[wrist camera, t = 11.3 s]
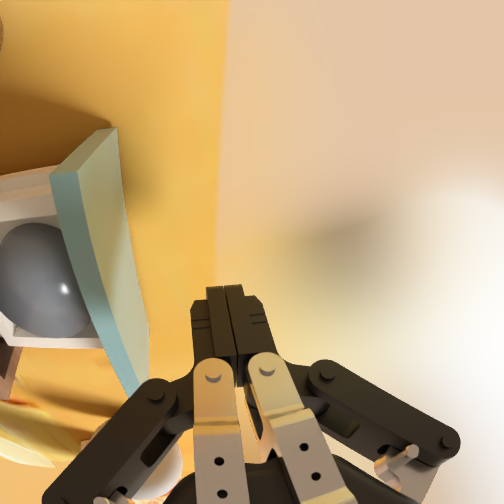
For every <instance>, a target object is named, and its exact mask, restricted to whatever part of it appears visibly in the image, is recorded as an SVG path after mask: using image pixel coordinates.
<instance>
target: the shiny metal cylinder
mask: <svg viewBox="0 0 504 504" xmlns="http://www.w3.org/2000/svg"><path fill="white" fill-rule="evenodd" d="M2 41H3V25H2V21H1V18H0V50H1V46H2Z"/></svg>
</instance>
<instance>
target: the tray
mask: <svg viewBox="0 0 504 504" xmlns="http://www.w3.org/2000/svg"><path fill="white" fill-rule="evenodd" d="M26 223H42V224H47V225H50V226H53V227H56V228H58V229H61V231H62V234H63V238H64V242H65V245H66V248H67V252H68V255H69V258H70V261H71V265H72V268H73V271H74V274H75V277H76V280H77V282H78V285H79V288H80V291H81V294H82V296H83V299H84V302H85V304H86V307H87V309H88V312H89V315H90V317H91V321H90V323H89V324H88V326H87V327H86V328H85V329H84V330H82V331H81V332H80V333H78V334H76V335H73V336H70V337H66V338H47V337H42V336H38V335H35V334H32V333H30V332H27V331H25V330H23V329H22V328H20V327H18V326H17V325H15V324H14V323H13V322H11V321H10V320H9V319H8V318H7V317H5V316H4V315H3V313H2V312H1V311H0V337H3V338H4V339H5V341H6V342H7V344H8V345H9V346H20V347H39V348H81V349H98V348H104V350H105V352H106V354H107V356H108V358H109V360H110V362H111V365H112V367H113V369H114V371H115V373H116V375H117V377H118V379H119V381H120V383H121V385H122V386H123V388H124V390H125V392H126V394H127V396H128V398H130V397H131V395H132V394H133V393H134V392H135V391H136V390H137V389H138V388H139V387H140V385H141V384H142V383H144V382H145V381H147V380H149V338H150V328H149V324H148V320H147V316H146V312H145V308H144V304H143V299H142V295H141V290H140V286H139V281H138V276H137V271H136V266H135V261H134V256H133V251H132V245H131V239H130V233H129V227H128V221H127V214H126V208H125V200H124V193H123V185H122V176H121V167H120V157H119V146H118V133H117V127H114V128H106V129H98V130H96V131H95V132H94V133H93V134H92V135H91V136H89V137H88V138H87V139H86V140H85V141H84V142H83V143H82V144H81V145H79V146H78V147H77V148H76V149H75V150H74V151H73V152H72V153H71V154H70V155H69V156H68V157H67V158H66V159H65V160H64V161H63V162H62V163H61V164H60V165H54V166H48V167H42V168H37V169H31V170H26V171H21V172H16V173H11V174H6V175H2V176H0V242H1V241H2V239H3V238H4V237H5V235H6V234H7V233H8V232H9V231H10V230H12V229H13V228H15V227H17V226H19V225H22V224H26Z"/></svg>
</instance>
